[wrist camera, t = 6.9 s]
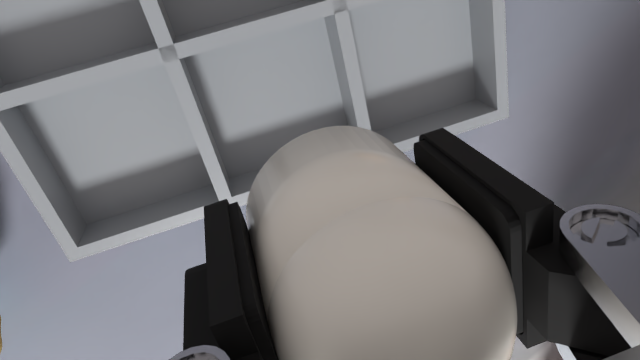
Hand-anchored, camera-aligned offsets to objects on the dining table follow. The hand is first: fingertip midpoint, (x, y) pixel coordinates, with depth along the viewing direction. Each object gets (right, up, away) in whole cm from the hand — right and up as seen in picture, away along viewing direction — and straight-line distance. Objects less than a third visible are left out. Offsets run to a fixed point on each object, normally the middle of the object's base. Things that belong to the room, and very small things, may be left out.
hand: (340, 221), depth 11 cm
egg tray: (-4, +8, +9) cm, 13 cm away
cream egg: (0, 0, 0) cm, 1 cm away
